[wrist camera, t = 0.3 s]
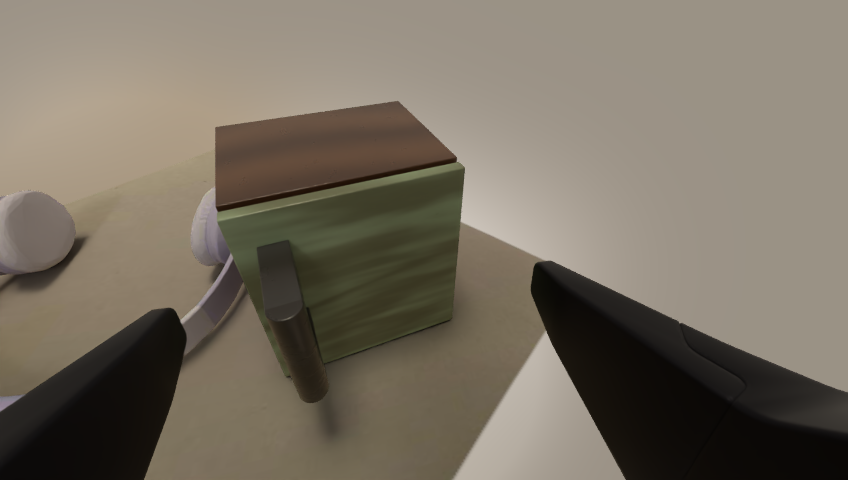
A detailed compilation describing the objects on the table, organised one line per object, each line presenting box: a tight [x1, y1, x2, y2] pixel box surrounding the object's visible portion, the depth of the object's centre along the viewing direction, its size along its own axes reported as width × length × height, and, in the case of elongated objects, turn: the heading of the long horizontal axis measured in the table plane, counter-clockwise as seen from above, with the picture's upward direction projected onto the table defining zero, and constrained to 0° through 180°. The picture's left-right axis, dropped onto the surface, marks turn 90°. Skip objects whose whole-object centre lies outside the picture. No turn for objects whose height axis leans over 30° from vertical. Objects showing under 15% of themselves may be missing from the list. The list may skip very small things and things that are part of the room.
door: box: [217, 162, 465, 403], centre depth 22 cm, size 6×13×14 cm, turn 113°
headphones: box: [0, 187, 243, 411], centre depth 29 cm, size 22×7×20 cm
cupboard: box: [215, 101, 457, 212], centre depth 28 cm, size 10×13×14 cm
